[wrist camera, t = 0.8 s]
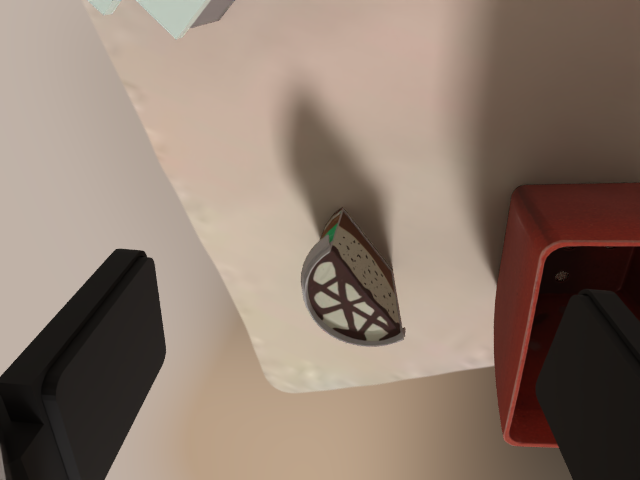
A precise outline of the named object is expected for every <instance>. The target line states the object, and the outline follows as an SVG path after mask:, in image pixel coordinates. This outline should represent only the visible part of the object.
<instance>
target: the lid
mask: <svg viewBox="0 0 640 480" xmlns="http://www.w3.org/2000/svg"><path fill="white" fill-rule="evenodd" d="M88 1H89V2H90V3H91V4H92V5H93V6H94V7H95V8H96V9H97V10H98V11H99V12H100V13H101V14H102V15H110V14H113V12H114V11H115V9H116V8H117V6H118V5H119V3H120V2H121V0H88ZM136 1H137V2H138V3H139V4H140V5H141V6H142V7H143V8H144V9H145V10H146V11H147V12H148V13H149V14H150V15H151V16H152V17H153V18H154V19H155V20H156V21H157V22H158V23H159V24H160V25H161V26H163V27H164V28H165V29H166V30H167V31H168V32H169V33H170V34H171V35H172V36H173V37H174V38H175V39H179V38H182V37H183V36H184V35H185V33H186V32H187V31H188V30H189V28H190V27H191V26H192V24H193V23H194V22H195V20H196V19H197V18H198V16H199V15H200V14H201V13H202V11H203V10H204V9H205V7H206V6H207V5H208V3H209V2H210V1H211V0H136Z"/></svg>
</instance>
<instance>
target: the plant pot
mask: <svg viewBox="0 0 640 480" xmlns="http://www.w3.org/2000/svg"><path fill="white" fill-rule="evenodd" d="M565 246H576V247H575V248H574V249H571V250H565V249H563V248H562V247H565ZM605 246H616V247H615V248H612V249H608V248H606V247H605ZM560 271H566V272H568V273H569V277H568V278H567V279H566V280H565V281H562V282H559V281H556V279H555V275H556V274H557V273H558V272H560ZM583 289H593V290H605V291H612V292H614V293H615V294H617V296H618V297H619V298H620V299H621V300H622V301H623V303H624V304H625V305H626V306H627V307H628V308H629V310H630V311H631V312H632V313H633V314H634V316H635V317H636V318H637V319H638V320H639V321H640V183H597V184H545V185H522V186H519V187H518V188H516V189H515V190H514V192H513V194H512V196H511V202H510V209H509V215H508V221H507V227H506V233H505V240H504V246H503V252H502V258H501V265H500V271H499V277H498V283H497V290H496V299H495V313H494V362H495V377H496V388H497V397H498V406H499V413H500V420H501V427H502V432H503V437H504V440H505V441H506V442H507V443H509V444H510V445H513V446H522V447H524V446H525V447H557V448H559V447H558V445H557V442H556V440H555V438H554V435H553V433H552V431H551V429H550V426H549V424H548V422H547V420H546V417H545V415H544V413H543V411H542V408H541V406H540V404H539V402H538V399H537V396H536V389H535V387H536V382H537V379H538V376H539V374H540V371H541V369H542V366H543V364H544V361H545V359H546V356H547V354H548V351H549V349H550V347H551V344H552V342H553V339H554V337H555V334H556V332H557V329H558V327H559V324H560V322H561V319H562V317H563V314H564V312H565V309H566V307H567V304H568V302H569V300H570V298H571V297H572V296H573V295H578V293H579V292H580V291H581V290H583Z"/></svg>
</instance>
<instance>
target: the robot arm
mask: <svg viewBox="0 0 640 480" xmlns="http://www.w3.org/2000/svg"><path fill="white" fill-rule="evenodd" d="M165 354H166V345H165V337H164V330H163V323H162V315H161V308H160V301H159V293H158V286H157V279H156V271H155V264H154V261H153V259H152V258H148V257H147V255H146V254H145V252H144V251H140V250H129V249H116V250H115V251H114V252H113V253H112V254H111V255H110V256H109V257H108V258H107V259H106V260H105V262H104V263H103V264H102V265H101V266H100V267H99V268H98V269H97V270H96V271H95V273H94V274H93V275H92V276H91V277H90V278H89V279H88V280H87V281H86V283H85V284H84V285H83V286H82V287H81V288H80V289H79V290H78V291H77V293H76V294H75V295H74V296H73V297H72V298H71V299H70V300H69V302H67V304H66V305H65V306H64V307H63V308H62V309H61V310H60V311H59V312H58V314H57V315H56V316H55V317H54V318H53V319H52V320H51V321H50V322H49V323H48V325H47V326H46V327H45V328H44V329H43V330H42V331H41V332H40V333H39V335H38V336H37V337H36V338H35V339H34V340H33V341H32V342H31V343H30V345H29V346H28V347H27V348H26V349H25V350H24V351H23V352H22V353H21V355H20V356H19V357H18V358H17V359H16V360H15V361H14V362H13V363H12V364H11V366H10V367H9V368H8V369H7V370H6V371H5V372H4V373H3V374H2V375H1V377H0V480H105V478H106V476H107V473H108V471H109V469H110V468H111V465H112V464H113V462H114V460H115V458H116V456H117V454H118V452H119V450H120V448H121V446H122V444H123V442H124V440H125V438H126V436H127V434H128V432H129V430H130V428H131V426H132V424H133V422H134V420H135V418H136V416H137V414H138V412H139V410H140V408H141V406H142V404H143V402H144V400H145V398H146V396H147V394H148V392H149V390H150V388H151V386H152V384H153V382H154V380H155V378H156V377H157V374H158V373H159V370H160V369H161V367H162V364H163V362H164V359H165ZM535 389H536V396H537V399H538V402H539V404H540V406H541V408H542V411H543V413H544V415H545V417H546V420H547V422H548V424H549V426H550V429H551V431H552V433H553V435H554V438H555V440H556V442H557V445H558V447H559V449H560V451H561V453H562V456H563V458H564V460H565V463H566V465H567V467H568V469H569V472H570V474H571V476H572V478H573V480H640V321H639V320H638V319H637V318H636V317H635V316H634V314H633V313H632V312H631V311H630V310H629V308H628V307H627V306H626V305H625V304H624V303H623V301H622V300H621V299H620V298H619V297H618V296H617V294H615V293H614V292H612V291H605V290H593V289H583V290H581V291H580V292H579V293H578V295H573V296H572V297H571V298H570V300H569V302H568V304H567V307H566V309H565V312H564V314H563V317H562V319H561V322H560V324H559V327H558V329H557V332H556V334H555V337H554V339H553V342H552V344H551V347H550V349H549V351H548V354H547V356H546V359H545V361H544V364H543V366H542V369H541V371H540V374H539V376H538V379H537V382H536V387H535Z"/></svg>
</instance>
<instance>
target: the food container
mask: <svg viewBox="0 0 640 480" xmlns="http://www.w3.org/2000/svg"><path fill="white" fill-rule="evenodd" d="M301 286H302V293H303V299H304V302H305V305H306V308H307V309H308V311H309V313H310V315H311V317H312V318H313V320H314V321H315V322H316V323H317V325H318V326H319V327H320V328H322V329H323V330H324V331H325V332H326V333H328V334H329V335H331V336H332V337H334V338H336V339H338V340H340V341H343V342H346V343H349V344H353V345H357V346H366V347H376V346H384V345H389V344H393V343H397V342H399V341H402V340H404V337H405V327H404V328H402V323H401V317H400V311H399V305H398V299H397V292H396V286H395V280H394V274H393V271H392V269H391V268H390V267H389V266H388V264H387V263H386V262H385V260H384V259H383V258H382V257H381V255H380V254H379V253H378V252H377V250H376V249H375V248H374V246H373V245H372V244H371V243H370V241H369V240H368V239H367V237H366V236H365V235H364V234H363V232H362V231H361V230H360V229H359V227H358V226H357V225H356V223H355V222H354V221H353V220H352V218H351V217H350V216H349V215H348V213H347V212H346V211H345V209H344V208H343V207H342V208H341V209H340V210H338V211H337V212H336V213H334V215H333V216H332V217H331V219H330V220H329V221H328V223H327V224H326V226H325V229H324V232H323V234H322V237H321V239H320V241H319V242H318V243H317V244H316V245H315V246H314V247H313V248H312V249H311V251H310V252H309V254H308V255H307V257H306V259H305V262H304V264H303V268H302V272H301Z"/></svg>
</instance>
